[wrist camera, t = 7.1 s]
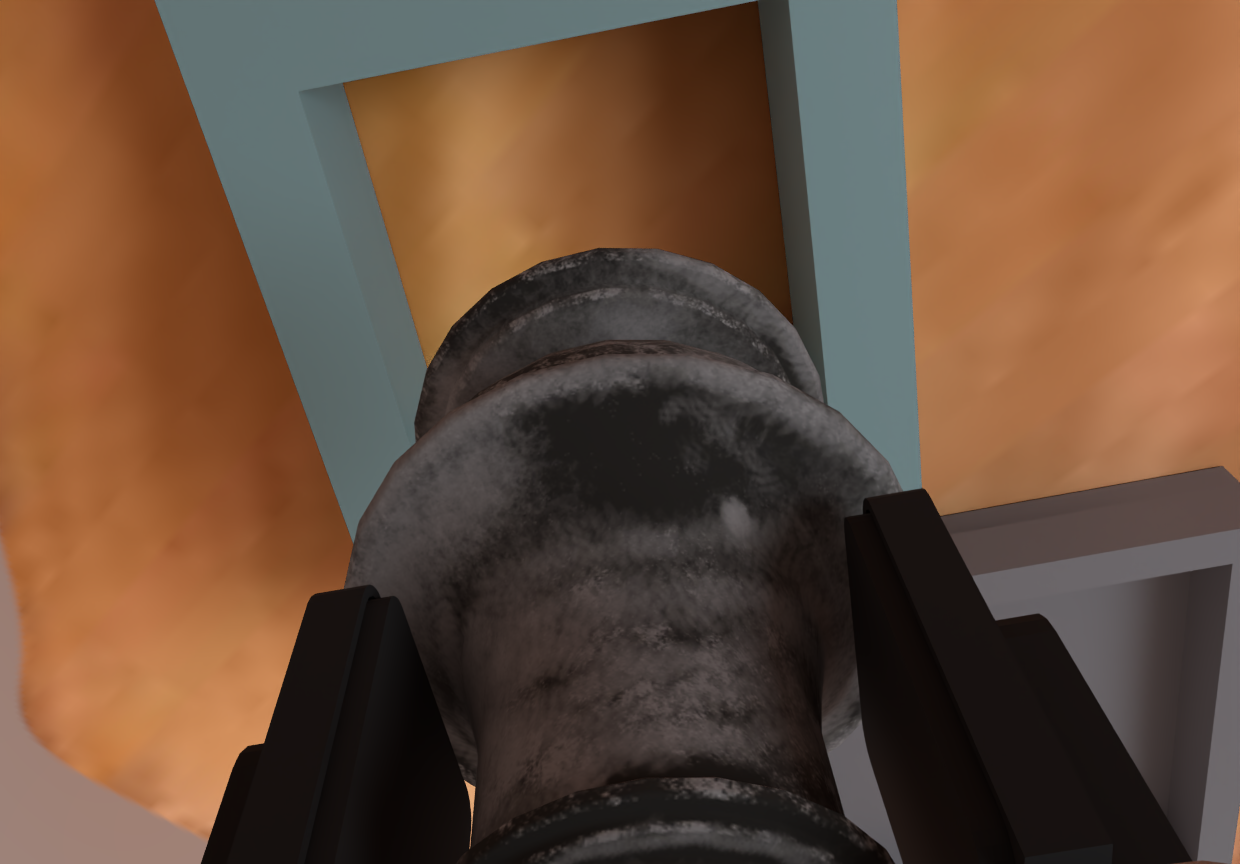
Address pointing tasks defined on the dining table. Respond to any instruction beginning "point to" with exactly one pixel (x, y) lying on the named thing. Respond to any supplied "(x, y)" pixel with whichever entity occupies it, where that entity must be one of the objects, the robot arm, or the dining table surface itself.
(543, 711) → the salt shaker
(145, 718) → the dining table surface
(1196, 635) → the tray
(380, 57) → the holder block
